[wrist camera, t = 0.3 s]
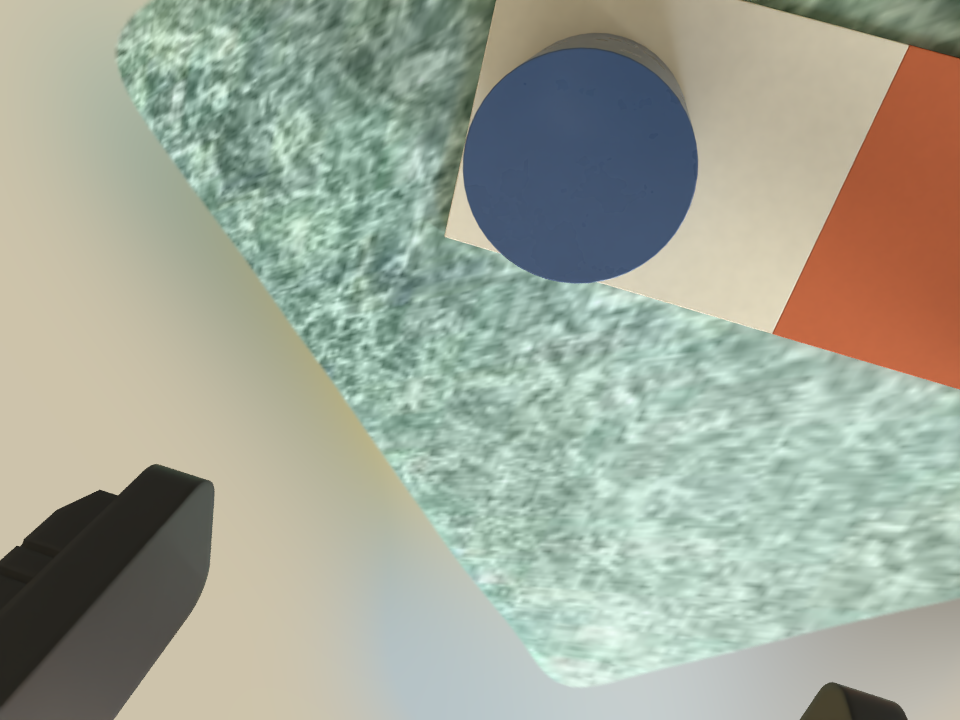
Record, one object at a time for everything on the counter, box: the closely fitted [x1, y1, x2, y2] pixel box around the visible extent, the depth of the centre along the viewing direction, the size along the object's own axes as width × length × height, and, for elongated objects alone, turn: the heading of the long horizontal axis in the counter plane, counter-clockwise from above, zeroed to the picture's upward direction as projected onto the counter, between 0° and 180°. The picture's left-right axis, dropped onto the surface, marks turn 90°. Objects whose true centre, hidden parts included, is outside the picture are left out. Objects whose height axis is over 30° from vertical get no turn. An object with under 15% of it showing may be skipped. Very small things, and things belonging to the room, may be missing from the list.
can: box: [463, 33, 698, 283], centre depth 28 cm, size 8×8×7 cm
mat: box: [444, 0, 960, 389], centre depth 30 cm, size 12×26×1 cm, turn 77°
